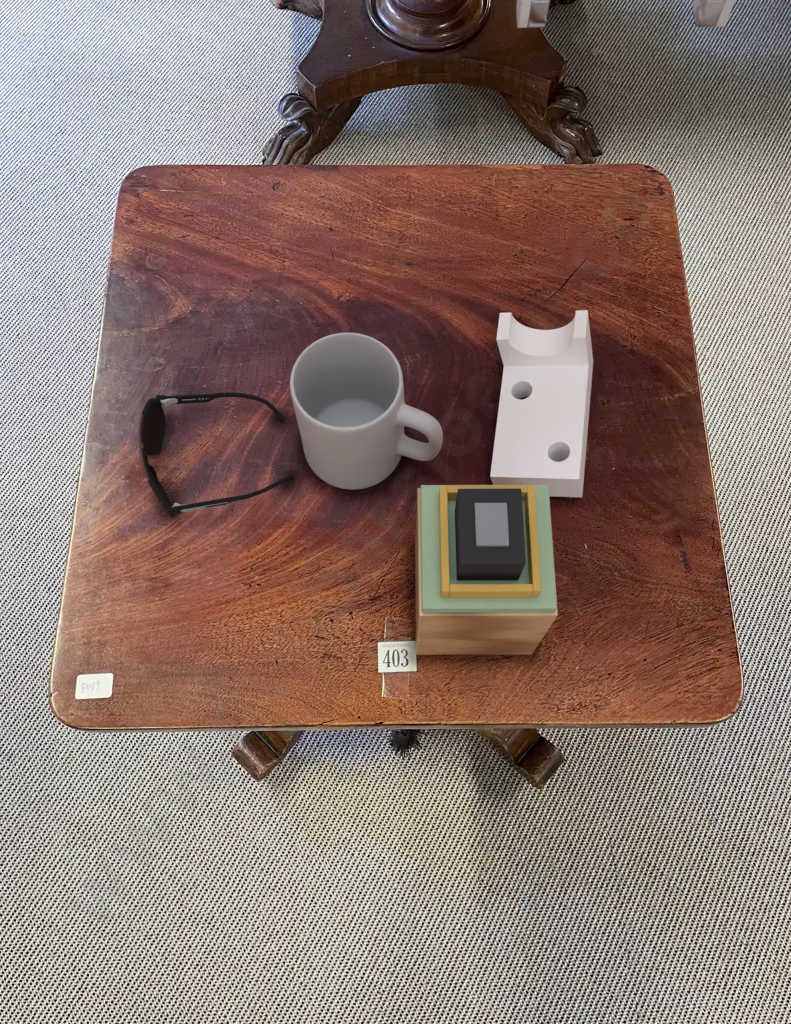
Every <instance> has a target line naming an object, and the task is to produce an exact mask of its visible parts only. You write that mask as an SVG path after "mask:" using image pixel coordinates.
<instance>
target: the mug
mask: <svg viewBox="0 0 791 1024" xmlns="http://www.w3.org/2000/svg"><path fill="white" fill-rule="evenodd" d="M289 391H290V397H291V401H292V405H293V409H294V413H295V418H296V422H297V426H298V430H299V434H300V438H301V444H302V448H303V453H304V457H305V460H306V462H307V464H308V466H309V467H310V469H311V470H312V472H313V473H314V475H316V476H317V477H318V478H319V479H320V480H322V481H323V482H325V484H328V485H330V486H332V487H334V488H338V489H343V490H348V491H349V490H350V491H351V490H353V491H354V490H355V491H356V490H363V489H368V488H370V487H373V486H376V485H378V484H380V483H381V482H383V481H384V480H386V479H387V478H389V476H390V475H391V474H392V473H393V472H394V471H395V470H396V468H397V466H398V465H399V463H400V462H401V459H402V456H403V457H406V458H408V459H409V458H410V459H412V460H416V461H422V462H429V461H432V460H434V459H435V458H436V457H438V455H439V453H440V452H441V449H442V447H443V441H444V434H443V428H442V425H441V424H440V423H439V421H438V420H437V419H436V418H435V417H434V416H432V415H431V414H430V413H429V412H428V413H427V412H426V411H424V410H422V409H419V408H416V407H413V406H411V405H409V404H406V403H405V386H404V375H403V370H402V366H401V365H400V362H399V360H398V359H397V357H396V355H395V354H394V352H393V351H392V350H391V349H390V348H388V346H387V345H386V344H384V343H383V342H382V341H380V340H378V339H376V338H374V337H372V336H369V335H367V334H363V333H358V332H338V333H337V332H336V333H332V334H329V335H326V336H323V337H321V338H319V339H317V340H315V341H314V342H312V343H310V344H309V345H308V346H307V347H306V348H304V350H303V351H302V352H301V353H300V354H299V356H298V357H297V359H296V360H295V362H294V364H293V366H292V369H291V372H290V378H289ZM405 427H408V428H411V429H413V430H416V431H418V432H420V433H422V434H423V435H424V436H426V439H427V440H428V442H423V441H420V440H416V439H413V438H411V437H409V436H408V435H406V434H405Z"/></svg>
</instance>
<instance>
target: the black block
mask: <svg viewBox="0 0 791 1024" xmlns="http://www.w3.org/2000/svg"><path fill="white" fill-rule="evenodd" d="M455 536H456V572H457V580H519V578H520V575H521V573H522V571H523V569H524V566H525V564H526V558H525V541H524V524H523V507H522V490H521V489H458V492H457V498H456V505H455Z"/></svg>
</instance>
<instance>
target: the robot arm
mask: <svg viewBox="0 0 791 1024" xmlns="http://www.w3.org/2000/svg"><path fill="white" fill-rule="evenodd" d="M735 2H736V0H694V1H693V5H692V16H693V17H694V18H695V19H694V27H697V28H698V27H699V28H705V27H706V28H725V26H727V22H728V21H729V18H730V15H731V13H732V10H733V7H734V5H735ZM550 4H551V0H516V5H515V6H516V7H515V9H516V10H515V14H516V15H515V16H516V17H515V18H516V27H517V29H545V28H546V26H547V21H548V20H547V15H548V13H549V10H550Z"/></svg>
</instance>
